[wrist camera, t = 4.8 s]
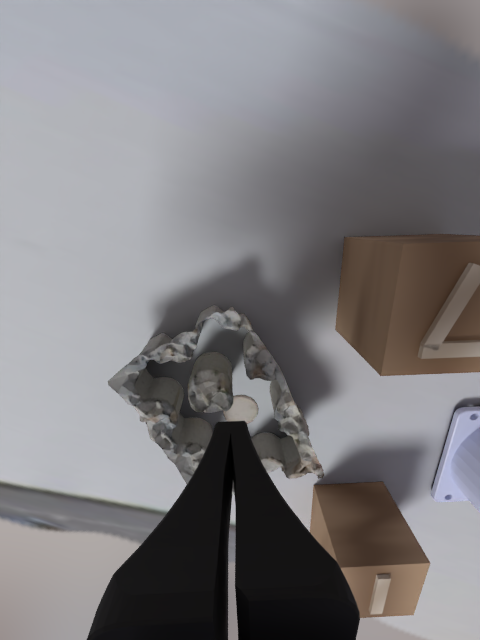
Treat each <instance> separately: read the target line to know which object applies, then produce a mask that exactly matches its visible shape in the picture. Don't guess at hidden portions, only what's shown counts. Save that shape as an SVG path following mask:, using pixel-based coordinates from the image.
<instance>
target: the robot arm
mask: <svg viewBox="0 0 480 640" xmlns="http://www.w3.org/2000/svg"><path fill="white" fill-rule="evenodd" d="M233 482H234V492H235V503H236V562H235V571H236V572H235V589H236V605H237V620H238V640H356V635H357V630H358V625H359V620H360V612H359V609H358V606H357V603H356V600H355V598H354V595H353V593H352V591H351V588H350V586H349V584H348V582H347V580H346V578H345V576H344V574H343V572H342V570H341V568H340V566H339V565H338V563H337V561H336V560H335V559H334V558H333V557H332V556H331V555H330V554H329V553H328V552H327V551H326V550H325V549H324V548H323V547H322V546H321V544H320V543H319V542H318V541H317V540H316V539H315V538H314V537H313V535H312V534H311V533H310V532H309V531H308V530H307V529H306V527H305V526H304V525H303V524H302V522H301V521H300V520H299V518H298V517H297V516H296V515H295V513H294V512H293V511H292V510H291V508H290V507H289V506H288V504H287V503H286V501H285V500H284V498H283V497H282V496H281V494H280V493H279V491H278V490H277V488H276V486H275V485H274V483H273V482H272V480H271V478H270V477H269V475H268V473H267V471H266V469H265V468H264V466H263V464H262V462H261V460H260V458H259V456H258V454H257V451H256V449H255V447H254V445H253V442H252V440H251V437H250V434H249V431H248V427H247V423H246V422H245V421H227V422H217V423H216V425H215V428H214V431H213V434H212V437H211V439H210V442H209V444H208V446H207V449H206V451H205V453H204V455H203V457H202V459H201V461H200V463H199V465H198V467H197V468H196V470H195V472H194V474H193V476H192V477H191V479H190V481H189V482H188V484H187V486H186V487H185V489H184V490H183V492H182V493H181V495H180V496H179V498H178V499H177V501H176V502H175V503H174V505H173V506H172V508H171V509H170V510H169V512H168V513H167V514H166V516H165V517H164V518H163V520H162V521H161V522H160V523H159V524H158V526H157V527H156V528H155V529H154V530H153V532H152V533H151V534H150V535H149V536H148V538H147V539H146V540H145V541H144V542H143V543H142V545H141V546H140V547H139V548H138V549H137V550H136V551H135V552H134V553H133V554H132V555H131V556H130V557H129V558H128V560H126V562H125V563H124V564H123V565H122V566H121V567H120V568H119V569H118V570H117V571H116V572H115V573H114V575H113V577H112V578H111V580H110V582H109V584H108V586H107V588H106V591H105V593H104V595H103V597H102V599H101V602H100V604H99V606H98V609H97V611H96V614H95V617H94V620H93V623H92V626H91V629H90V632H89V635H88V638H87V640H228V540H229V525H230V513H231V501H232V488H233ZM431 496H432V497H433V499H434V500H435V501H436V502H453V501H470V502H471V503H472V504H473V506H474V507H475V508H476V509H477V510H478V511H479V513H480V406H478V407H462V408H459V409H457V410H456V411H455V413H454V416H453V419H452V423H451V426H450V430H449V433H448V437H447V440H446V443H445V447H444V450H443V454H442V457H441V461H440V464H439V467H438V471H437V474H436V478H435V481H434V485H433V488H432V492H431Z"/></svg>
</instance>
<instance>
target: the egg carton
mask: <svg viewBox="0 0 480 640" xmlns="http://www.w3.org/2000/svg"><path fill="white" fill-rule="evenodd" d="M210 318H214V319H215V320H216V321H217V322H218V323H219V324H220V325H221V326H222V327H223V328H226V329H232V330H237V331H238V330H239V329H240V327H245V328H246V329H247V330H248V331H249V332H248V333H247V334H246V336H245V338H244V342H243V351H244V364H245V368H246V374H247V376H248V377H249V379H250V380H251V379H254V378H261V379H264V380H267V381H271V384H270V394H271V400H272V405H273V409H274V418H275V419H276V420H277V421H278V426H279V430H280V431H282V432H285V433H286V434H287V435H289V436H286V437H284V438H281V439H280V438H278V437H277V436H276V435H274V434H272V433H259V434H257V435H255V436H254V437H252V438H251V440H252V442H253V445H254V447H255V449H256V451H257V454H258V456H259V458H260V460H261V462H262V464H263V466H264V468H265V469H266V471H267V473H269V472H271V471H274V470H276V469H278V468H280V467H281V468H282V471H284V473H285V475H286V477H287V478H289V479H292V478H298V477H301V476H303V475H306V474H307V473H314V474H316V475H317V476H318V478H323V476H324V472H323V470H322V466H321V464H320V463H319V461H318V459H317V457H316V454H315V452H314V449H313V448H312V445H311V443H310V440H309V438H308V436H309V429H308V425H307V423H306V420H305V418H304V416H303V414H302V412H301V410H300V408H299V407H298V406H297V405H296V403H295V402H294V400H293V398H292V395H291V393H290V390H289V388H288V385H287V383H286V380H285V378H284V375H283V373H282V371H281V370H280V368H279V366H278V364H277V363H276V361H275V360H274V358H273V357H272V355H271V354H270V353H269V351H268V350H267V348H266V347H265V345H264V344H263V343H262V341H261V340H260V338H259V337H258V336H257V334H256V333H255V332H254V331H253V328H252V326H251V323H250V321H249V320H248V318H247V317H246V316H245V315H244V314H243V313H242V314H238V313H237V312H236V311H235V310H234V308H233V307H232V306H231V307H230V308H229V309H228V310H227V311H225V312H223V311H222V310H221V309H219V308H218V307H217V306H216V305H213V306H211V307H209V308H207V309H206V310H203V311H202V312H201V313H200V315H199V318H198V320H197V323H196V327H195V330H193V331H192V332H183V333H180V334H179V335H177V336H176V337H175V338H173V339H172V338H170V337H169V336H167V335H166V334H164V333H161V334H159V335H157V336H155V337H154V338H151V339H150V340H149V342H148V343H147V345H146V346H145V347H144V349H143V351H142V352H141V353H140V354H139V355H138V356H137V357H135V358H134V359H133V360H132V361H131V362H130V363H129V364H128V365H126V366H125V367H124V368H122V369H121V370H120V371H119V372H118V373H117V374H115V375H114V376H113V377H112V378H111V379H110V380H109V381H108V385H109V386H110V387H111V388H112V389H113V390H115V391H116V392H117V393H118V394H119V395H120V396H121V397H122V398H123V399H124V400H125V401H126V402H127V404H129V405H132V406H133V407H134V408H135V409H136V410H137V412H138V413H139V415H140V421H141V422H146V424H147V426H148V431H149V435H150V439H151V440H153V441H154V442H156V443H157V444H158V445H159V446H160V447H161V448H162V449H163V451H164V452H165V454H166V455H167V457H168V458H169V459H170V460H171V461H172V462H173V463H174V464H175V465H176V467H177V468H178V470H179V472H180V473H181V475H182V477H183V479H184V480H185V482H186V484H188V482H189V481H190V479H191V477H192V476H193V474H194V472H195V470H196V468H197V467H198V465H199V463H200V461H201V459H202V457H203V455H204V453H205V451H206V449H207V446H208V444H209V442H210V439H211V437H212V434H213V430H212V427H211V425H210V424H209V423H208V422H207V421H205V420H204V419H201V418H196V417H193V418H184V417H183V416H182V415H181V414H180V413H179V412H180V409H181V405H182V402H183V398H184V390H183V388H182V386H181V385H180V383H179V382H177V381H176V380H175V379H172V378H169V377H158V378H153V377H152V376H151V375H150V374H149V372H148V371H147V370H146V369H145V367H146V366H147V363H148V362H149V360H155V361H156V362H157V363H159V364H162V363H165V362H168V361H170V360H172V361H175V362H178V363H182V362H185V361H187V360H190V359H191V358H192V355H193V351H194V349H195V348H196V347H197V342H198V339H199V336H200V333H201V329H202V322H203V321H205V320H207V319H210ZM188 400H189V403H190V406H191V408H192V409H193V410H194V411H195V412H205V413H214V412H218V411H221V410H223V413H224V417H225V419H226V420H227V421H245V422H246V423H247V424H248V423H250V422H252V421H253V420H254V419H255V417H256V416H257V414H258V406H257V403H256V402H255V401H254V400H253V399H252V398H250V397H248V396H244V395H236V396H233V393H232V365H231V363H230V361H229V359H228V358H227V357H226V356H224V355H222V354H220V353H218V352H208V353H204V354H202V355H201V356H199V357H198V359H197V360H196V361H195V363H194V366H193V370H192V373H191V376H190V379H189V382H188ZM232 495H235V492H234V482H233V488H232Z"/></svg>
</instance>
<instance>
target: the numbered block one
mask: <svg viewBox="0 0 480 640" xmlns="http://www.w3.org/2000/svg"><path fill="white" fill-rule="evenodd" d="M310 533H311V534H312V535H313V537H314V538H315V539H316V540H317V541H318V542H319V543H320V544H321V546H322V547H323V548H324V549H325V550H326V551H327V552H328V553H329V554H330V555H331V556H332V557H333V558H334V559H335V560H336V561H337V563H338V565H339V566H340V568H341V570H342V572H343V574H344V576H345V578H346V580H347V582H348V584H349V586H350V588H351V591H352V593H353V595H354V598H355V600H356V603H357V606H358V609H359V612H360V618H366V617H385V616H403V615H414V612H415V609H416V606H417V602H418V599H419V596H420V593H421V590H422V587H423V584H424V581H425V578H426V575H427V572H428V569H429V565H430V562H429V560H428V558H427V557H426V555H425V553H424V552H423V550H422V548H421V546H420V545H419V543H418V541H417V539H416V538H415V536H414V534H413V533H412V531H411V529H410V527H409V526H408V524H407V522H406V521H405V519H404V517H403V515H402V514H401V512H400V510H399V509H398V507H397V505H396V503H395V502H394V500H393V498H392V497H391V495H390V493H389V491H388V490H387V488H386V486H385V484H384V483H383V482H364V483H344V484H324V485H314V488H313V500H312V513H311V526H310Z"/></svg>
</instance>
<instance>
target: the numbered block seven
mask: <svg viewBox="0 0 480 640" xmlns="http://www.w3.org/2000/svg"><path fill="white" fill-rule="evenodd" d="M335 330H336V331H337V332H338V333H339V334H340V335H341V336H342V337H343V338H344V339H345V340H346V341H347V342H348V343H349V344H350V345H351V346H352V347H353V348H354V349H355V350H356V351H357V352H358V353H359V354H360V355H361V356H362V357H363V358H364V359H365V360H366V361H367V362H368V363H369V364H370V365H371V366H372V367H373V368H374V369H375V370H376V371H377V372H378V374H379V375H380V376H391V375H417V374H442V373H468V372H480V236H476V235H453V234H428V235H396V236H365V237H344V247H343V257H342V267H341V278H340V288H339V298H338V308H337V318H336V328H335Z"/></svg>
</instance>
